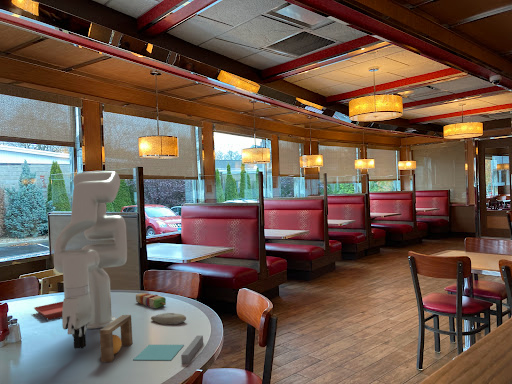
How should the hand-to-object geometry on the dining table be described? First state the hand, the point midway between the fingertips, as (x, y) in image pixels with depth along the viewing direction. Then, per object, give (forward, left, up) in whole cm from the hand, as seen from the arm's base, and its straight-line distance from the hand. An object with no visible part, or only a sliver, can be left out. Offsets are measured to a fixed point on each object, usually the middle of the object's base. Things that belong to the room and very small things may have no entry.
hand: (80, 347), depth 135 cm
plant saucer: (-36, +44, -2) cm, 57 cm away
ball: (+12, -1, +2) cm, 12 cm away
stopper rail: (+38, 0, -2) cm, 38 cm away
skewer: (+2, +53, -2) cm, 53 cm away
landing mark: (+27, 0, -2) cm, 27 cm away
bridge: (+13, 0, -2) cm, 13 cm away
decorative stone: (+19, +30, -2) cm, 35 cm away
